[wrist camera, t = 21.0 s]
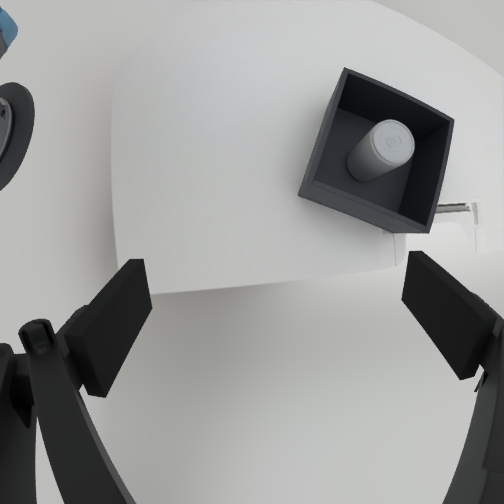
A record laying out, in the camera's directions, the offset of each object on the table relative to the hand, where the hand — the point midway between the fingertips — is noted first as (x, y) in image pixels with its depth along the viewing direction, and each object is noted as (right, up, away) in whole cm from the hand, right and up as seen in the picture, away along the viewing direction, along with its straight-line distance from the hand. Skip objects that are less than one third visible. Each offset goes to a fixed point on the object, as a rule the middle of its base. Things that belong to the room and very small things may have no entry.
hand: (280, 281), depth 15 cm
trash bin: (+14, +13, +26) cm, 32 cm away
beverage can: (+13, +13, +25) cm, 31 cm away
